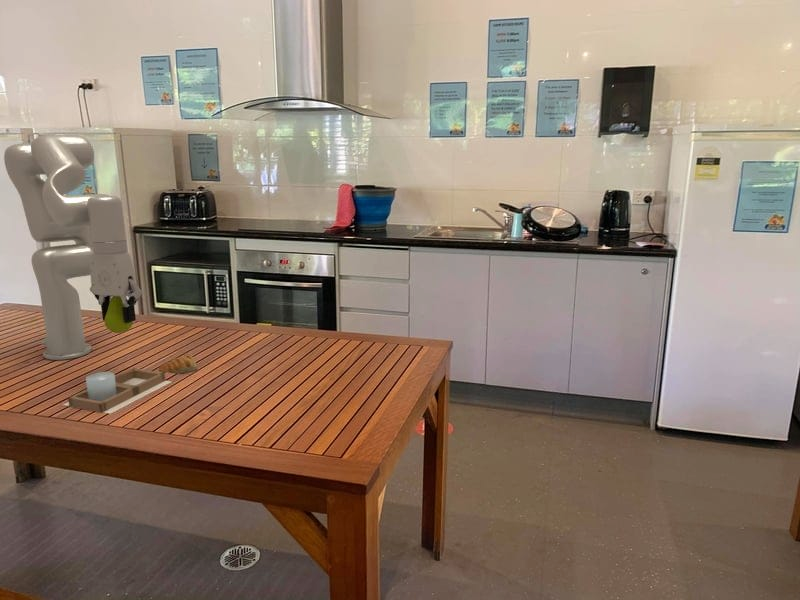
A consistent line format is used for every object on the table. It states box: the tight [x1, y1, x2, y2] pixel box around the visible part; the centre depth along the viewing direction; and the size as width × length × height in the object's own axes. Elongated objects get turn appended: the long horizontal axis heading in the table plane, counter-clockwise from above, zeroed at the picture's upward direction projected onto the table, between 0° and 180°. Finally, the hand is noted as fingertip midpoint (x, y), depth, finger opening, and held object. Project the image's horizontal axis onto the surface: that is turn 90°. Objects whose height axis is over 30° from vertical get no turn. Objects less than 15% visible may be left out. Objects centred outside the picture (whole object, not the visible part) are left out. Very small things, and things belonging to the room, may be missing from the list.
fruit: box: [104, 296, 134, 334], centre depth 146 cm, size 6×6×12 cm
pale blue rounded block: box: [85, 371, 117, 401], centre depth 138 cm, size 6×6×6 cm
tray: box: [62, 368, 172, 414], centre depth 143 cm, size 14×20×3 cm
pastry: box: [158, 354, 198, 375], centre depth 161 cm, size 9×7×4 cm
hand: (119, 320), depth 147 cm, fingers closed on fruit, 5 cm apart
